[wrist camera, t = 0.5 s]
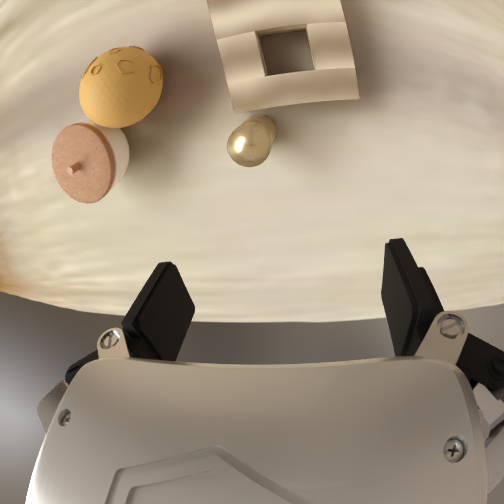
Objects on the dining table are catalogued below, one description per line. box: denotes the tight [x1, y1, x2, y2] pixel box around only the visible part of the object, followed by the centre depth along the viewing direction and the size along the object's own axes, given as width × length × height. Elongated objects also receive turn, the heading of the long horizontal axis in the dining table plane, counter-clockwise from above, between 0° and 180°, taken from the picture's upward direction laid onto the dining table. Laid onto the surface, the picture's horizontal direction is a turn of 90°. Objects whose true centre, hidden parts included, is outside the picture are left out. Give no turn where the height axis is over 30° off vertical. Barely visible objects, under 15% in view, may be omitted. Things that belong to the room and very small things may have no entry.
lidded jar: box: [52, 120, 130, 203], centre depth 30 cm, size 11×11×9 cm
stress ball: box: [79, 46, 163, 128], centre depth 24 cm, size 10×10×10 cm
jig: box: [207, 0, 360, 114], centre depth 19 cm, size 20×13×7 cm, turn 11°
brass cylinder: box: [227, 115, 276, 167], centre depth 27 cm, size 4×4×8 cm
